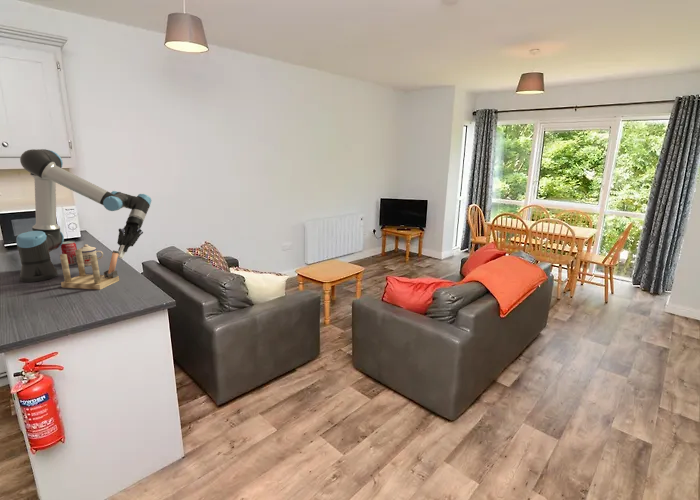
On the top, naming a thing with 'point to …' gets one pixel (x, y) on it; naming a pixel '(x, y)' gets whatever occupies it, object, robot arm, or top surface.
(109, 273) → the folding leg
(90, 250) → the teacup with lid
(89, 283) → the stool
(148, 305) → the top surface
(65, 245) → the soda can
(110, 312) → the top surface
